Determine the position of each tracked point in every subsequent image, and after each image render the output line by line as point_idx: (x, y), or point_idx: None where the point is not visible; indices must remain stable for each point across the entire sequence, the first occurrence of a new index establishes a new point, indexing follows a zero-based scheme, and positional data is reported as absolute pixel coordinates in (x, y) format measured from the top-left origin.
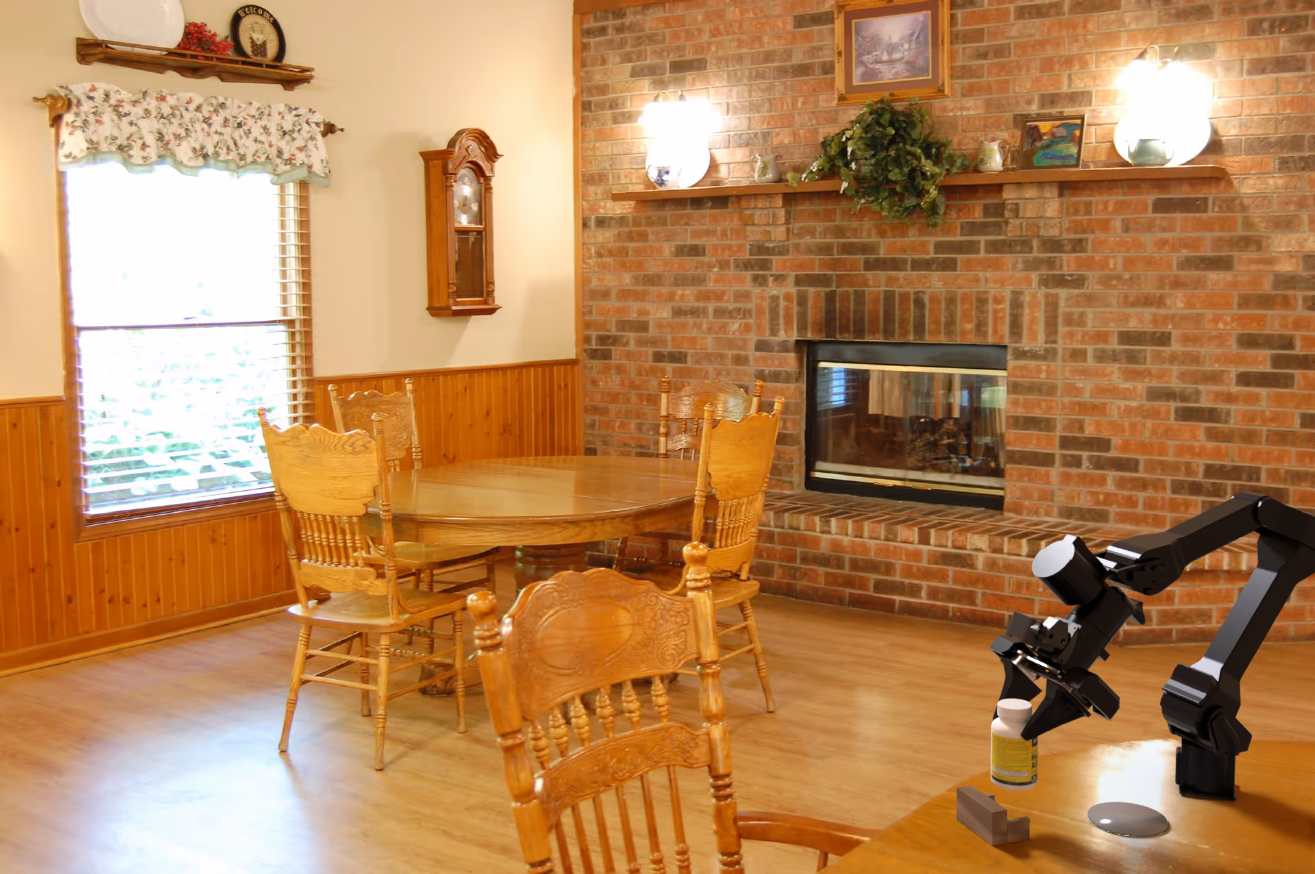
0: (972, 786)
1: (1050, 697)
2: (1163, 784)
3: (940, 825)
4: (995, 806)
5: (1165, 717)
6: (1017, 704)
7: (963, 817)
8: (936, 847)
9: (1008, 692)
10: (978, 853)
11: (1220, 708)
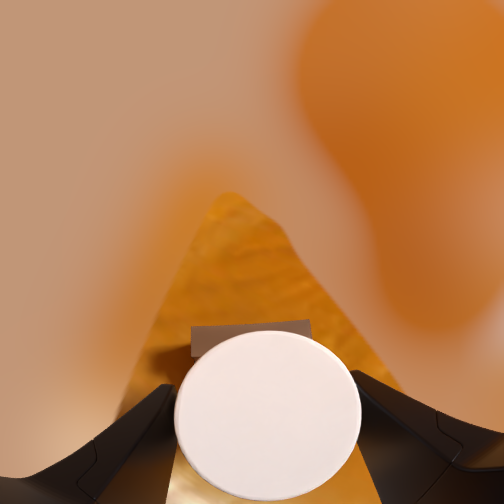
0: None
1: (38, 490)
2: None
3: (286, 305)
4: (210, 345)
5: None
6: (255, 428)
7: None
8: (224, 270)
9: (414, 438)
10: (188, 311)
11: None
